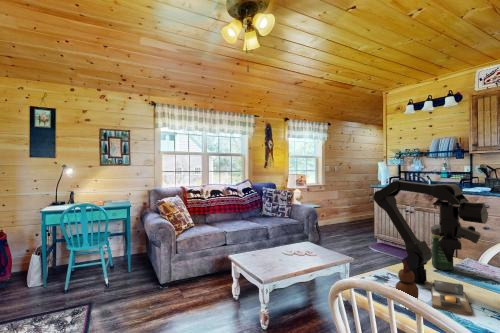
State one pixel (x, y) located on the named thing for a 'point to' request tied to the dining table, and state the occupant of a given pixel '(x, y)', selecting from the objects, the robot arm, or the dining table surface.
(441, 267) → the coffee jar
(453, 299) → the button
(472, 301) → the dining table surface
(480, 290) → the dining table surface
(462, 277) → the dining table surface
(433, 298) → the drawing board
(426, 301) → the dining table surface
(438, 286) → the cylinder
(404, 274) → the wooden figurine
